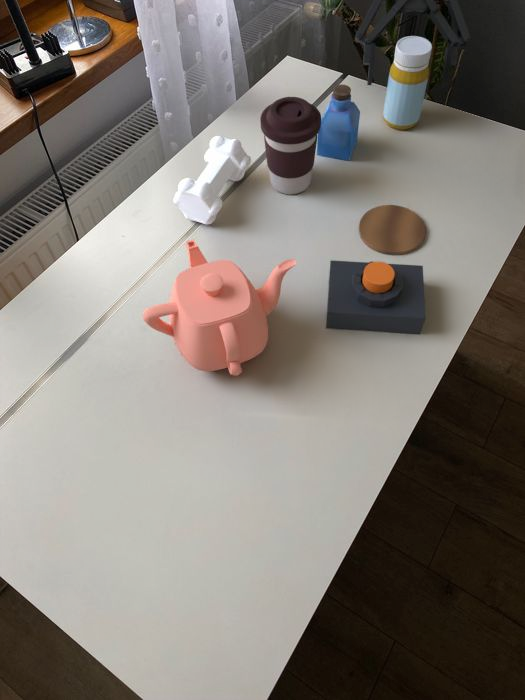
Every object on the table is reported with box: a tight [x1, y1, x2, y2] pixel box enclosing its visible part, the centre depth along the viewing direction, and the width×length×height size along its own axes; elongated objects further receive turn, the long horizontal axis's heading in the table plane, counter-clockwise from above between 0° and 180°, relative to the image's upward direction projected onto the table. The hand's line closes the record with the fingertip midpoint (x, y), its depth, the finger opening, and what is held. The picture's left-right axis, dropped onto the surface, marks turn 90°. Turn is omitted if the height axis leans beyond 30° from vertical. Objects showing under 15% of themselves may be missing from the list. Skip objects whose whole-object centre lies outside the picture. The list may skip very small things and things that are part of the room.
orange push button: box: [362, 261, 395, 294], centre depth 87 cm, size 4×4×2 cm
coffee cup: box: [259, 96, 322, 195], centre depth 103 cm, size 10×10×15 cm
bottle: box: [382, 35, 433, 131], centre depth 111 cm, size 7×7×15 cm
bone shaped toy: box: [173, 135, 252, 225], centre depth 104 cm, size 15×9×8 cm, turn 156°
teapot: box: [142, 239, 297, 376], centre depth 85 cm, size 16×17×14 cm
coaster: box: [358, 204, 427, 256], centre depth 101 cm, size 11×11×1 cm
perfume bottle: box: [316, 84, 361, 162], centre depth 109 cm, size 6×6×12 cm
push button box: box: [325, 259, 426, 336], centre depth 90 cm, size 14×10×6 cm
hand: (407, 85), depth 111 cm, fingers open, 13 cm apart
